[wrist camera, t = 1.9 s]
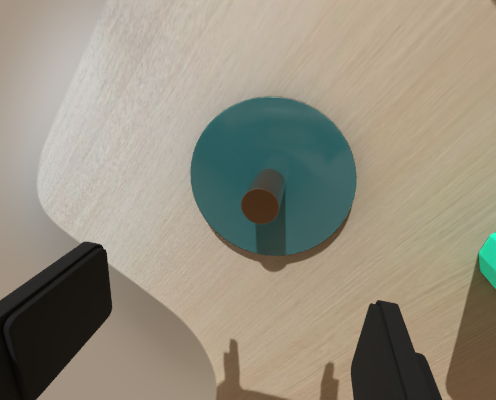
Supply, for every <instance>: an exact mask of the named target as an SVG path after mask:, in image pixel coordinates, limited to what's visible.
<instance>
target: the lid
mask: <svg viewBox="0 0 496 400" xmlns="http://www.w3.org/2000/svg"><path fill="white" fill-rule="evenodd" d="M191 185H192V191H193V194H194V198H195V201H196V203H197V205H198V208H199V210H200V211H201V213H202V215H203V216H204V218H205V219H206V221H207V222H208V223H209V225H210V226H211V227H212V228H213V229H214V230H215V231H216V232H217V233H218V234H219V235H221V236H222V237H223V238H224V239H226V240H227V241H229V242H230V243H232V244H233V245H235V246H237V247H239V248H241V249H244V250H247V251H250V252H253V253H257V254H262V255H270V256H282V255H291V254H295V253H300V252H303V251H306V250H308V249H311V248H313V247H315V246H317V245H318V244H320V243H321V242H323V241H324V240H326V239H327V238H328V237H330V236H331V235H332V234H333V233H334V232H335V231H336V230H337V229H338V228H339V226H340V225H341V224H342V222H343V221H344V219H345V218H346V216H347V214H348V212H349V210H350V208H351V206H352V203H353V200H354V196H355V190H356V167H355V162H354V158H353V155H352V152H351V149H350V147H349V145H348V143H347V141H346V139H345V137H344V136H343V134H342V133H341V131H340V130H339V129H338V127H337V126H336V125H335V124H334V123H333V122H332V121H331V120H330V119H329V118H328V117H327V116H326V115H325V114H323V113H322V112H320V111H319V110H317V109H316V108H314V107H312V106H310V105H308V104H306V103H304V102H301V101H298V100H295V99H291V98H286V97H278V96H265V97H257V98H252V99H248V100H245V101H242V102H240V103H237V104H235V105H233V106H231V107H229V108H228V109H226V110H224V111H223V112H222V113H220V114H219V115H218V116H216V117H215V118H214V119H213V120H212V121H211V122H210V123H209V124H208V126H207V127H206V129H205V130H204V131H203V133H202V134H201V136H200V138H199V140H198V142H197V144H196V147H195V149H194V152H193V157H192V161H191Z"/></svg>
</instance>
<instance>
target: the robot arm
mask: <svg viewBox="0 0 496 400" xmlns="http://www.w3.org/2000/svg"><path fill="white" fill-rule="evenodd" d="M111 310H112V300H111V291H110V281H109V271H108V261H107V253H106V250H105V249H103V246H102V245H100V244H96V243H91V242H83V243H81V244H80V245H79V246H77V247H76V248H74V249H73V250H72V251H70V252H69V253H67V254H66V255H64V256H63V257H61V258H60V259H59V260H57V261H56V262H54V263H53V264H52V265H50V266H49V267H47V268H46V269H44V270H43V271H42V272H40V273H39V274H37V275H36V276H34V277H33V278H32V279H30V280H29V281H27V282H26V283H25V284H23V285H22V286H20V287H19V288H17V289H16V290H15V291H13V292H12V293H10V294H9V295H7V296H6V297H5V298H3V299H2V300H0V400H36V399H37V398H38V397H39V396H40V395H41V394H42V393H43V391H44V390H45V389H46V388H47V387H48V386H49V385H50V383H51V382H52V381H53V380H54V379H55V378H56V377H57V375H58V374H59V373H60V372H61V371H62V370H63V369H64V367H65V366H66V365H67V364H68V363H69V362H70V361H71V359H72V358H73V357H74V356H75V355H76V354H77V352H78V351H79V350H80V349H81V348H82V347H83V346H84V344H85V343H86V342H87V341H88V340H89V339H90V338H91V336H92V335H93V334H94V333H95V332H96V331H97V330H98V328H99V327H100V326H101V325H102V324H103V323H104V322H105V320H106V319H107V318H108V316H109V315H110V313H111ZM351 379H352V388H353V397H354V400H442V398H441V395H440V393H439V390H438V388H437V385H436V383H435V380H434V377H433V375H432V372H431V370H430V367H429V365H428V362H427V360H426V358H425V356H424V355H423V354H420V353H416V352H415V351H414V348H413V345H412V342H411V339H410V337H409V334H408V331H407V328H406V325H405V323H404V320H403V317H402V314H401V312H400V309H399V306H398V305H397V304H395V303H390V302H385V301H380V300H378V301H377V302H376V304H372V303H371V304H370V305H369V308H368V311H367V315H366V318H365V321H364V325H363V328H362V331H361V334H360V338H359V341H358V344H357V348H356V351H355V354H354V358H353V361H352V365H351Z"/></svg>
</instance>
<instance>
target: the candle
mask: <svg viewBox="0 0 496 400" xmlns="http://www.w3.org/2000/svg"><path fill="white" fill-rule="evenodd" d="M479 265H480V271H481V272H482V274H483V275H484V276H485V277H486V278H487V279H488V281H489V282H490V283H491V284H492V285H493V286H494V288H495V289H496V232H495V233H494V234H492V235H490V236H489V238H488V239H487V241H486V243H485V244H484V246H483V247H482V249H481V250H480V252H479Z"/></svg>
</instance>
